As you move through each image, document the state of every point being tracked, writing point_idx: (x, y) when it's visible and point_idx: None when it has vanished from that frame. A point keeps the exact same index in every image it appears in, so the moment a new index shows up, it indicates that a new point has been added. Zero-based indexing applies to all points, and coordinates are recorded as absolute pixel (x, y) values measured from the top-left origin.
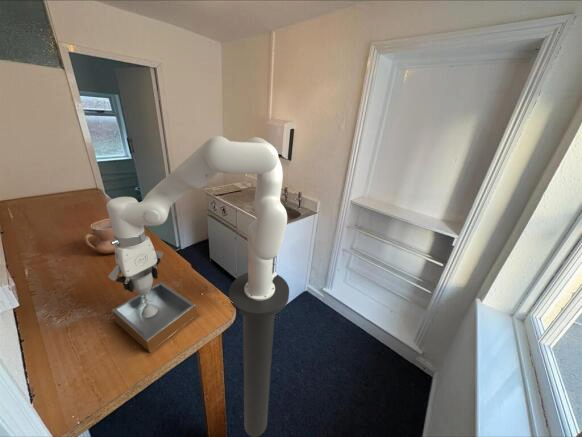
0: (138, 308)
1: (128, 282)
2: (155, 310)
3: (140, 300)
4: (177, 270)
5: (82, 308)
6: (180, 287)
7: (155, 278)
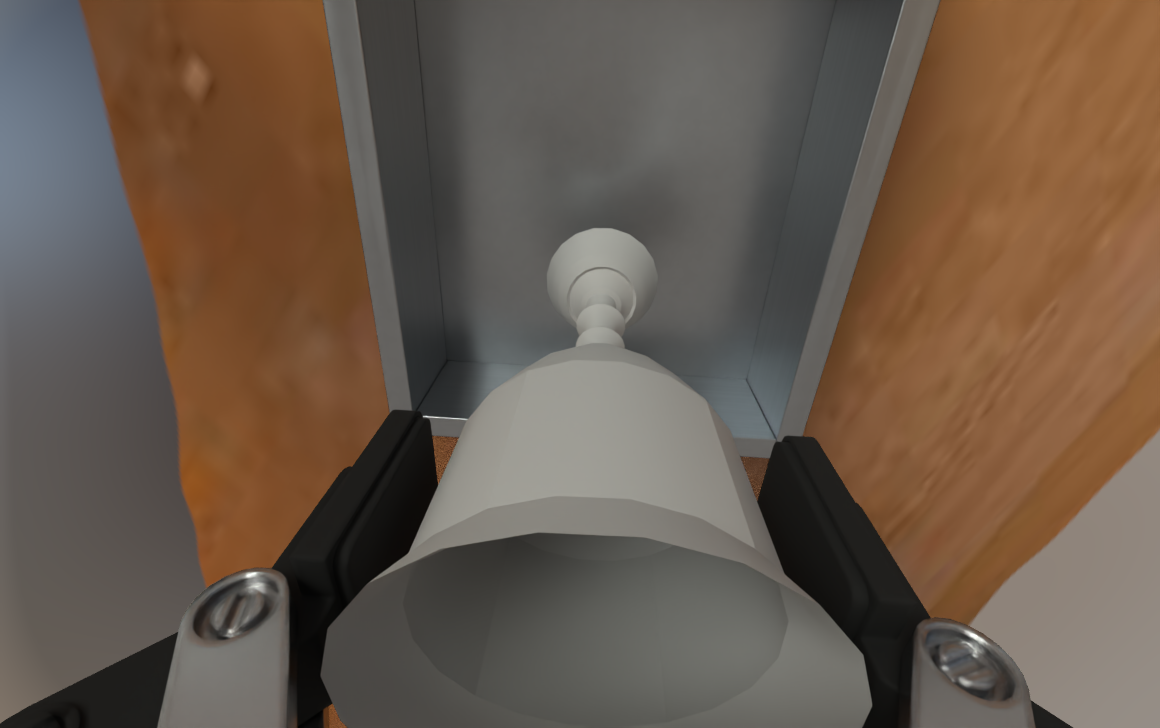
0: None
1: (902, 620)
2: (577, 248)
3: None
4: (250, 468)
5: None
6: (313, 311)
7: (425, 419)
